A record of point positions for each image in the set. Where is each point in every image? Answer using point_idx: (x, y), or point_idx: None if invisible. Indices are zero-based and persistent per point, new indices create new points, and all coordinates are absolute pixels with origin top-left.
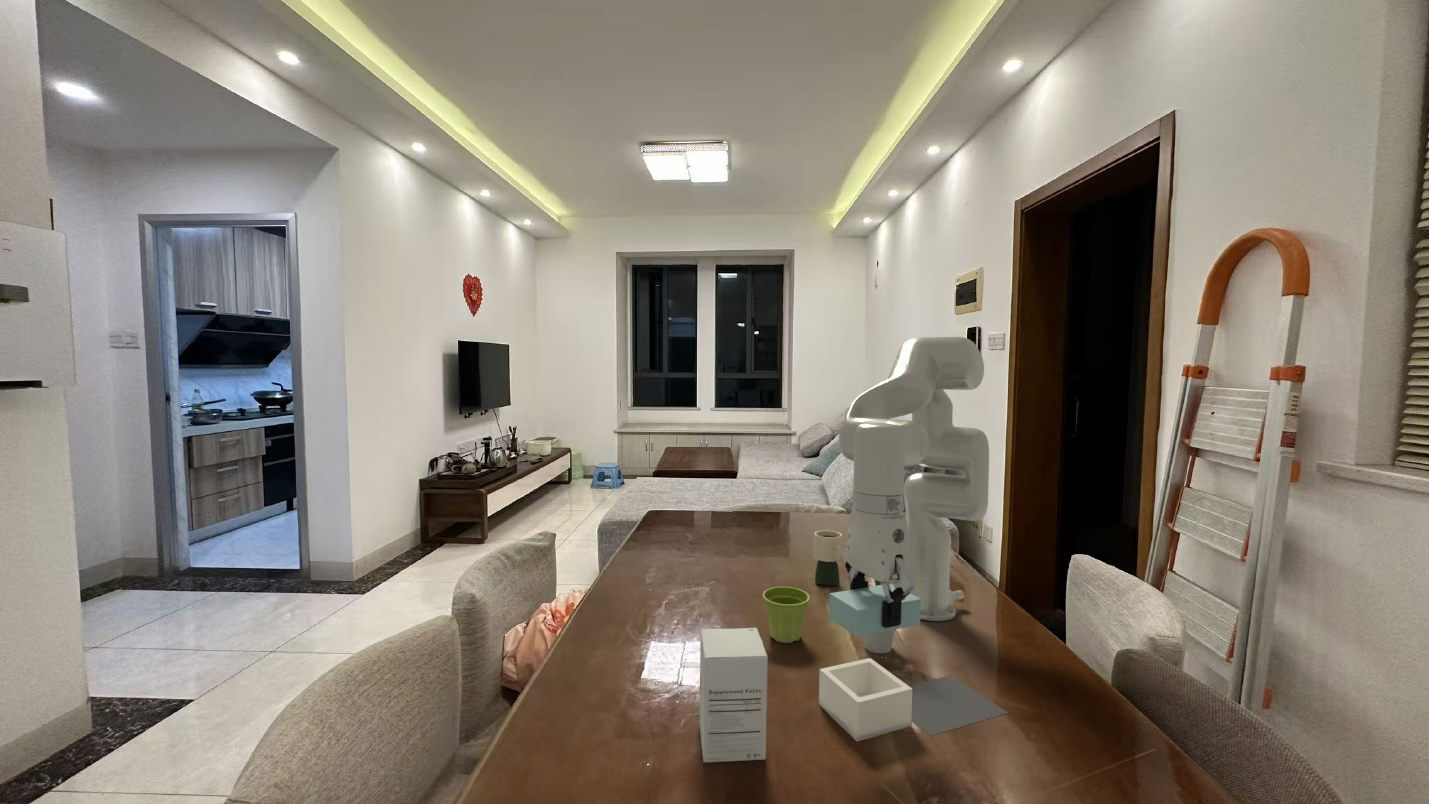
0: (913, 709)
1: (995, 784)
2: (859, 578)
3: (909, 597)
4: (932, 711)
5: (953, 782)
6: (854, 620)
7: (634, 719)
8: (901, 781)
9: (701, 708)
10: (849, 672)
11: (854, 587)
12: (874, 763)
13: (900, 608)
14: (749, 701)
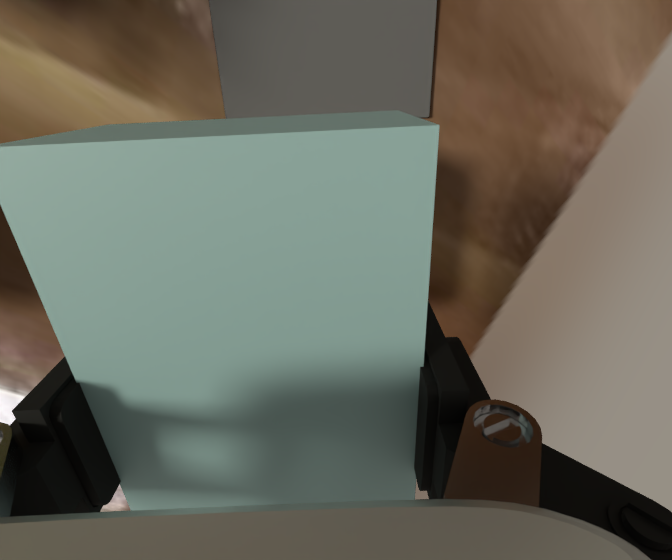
0: (323, 76)
1: (609, 94)
2: (40, 503)
3: (366, 211)
4: (348, 23)
5: (552, 179)
6: None
7: None
8: (496, 270)
9: None
10: None
11: (112, 488)
12: (437, 285)
13: (482, 383)
14: None
